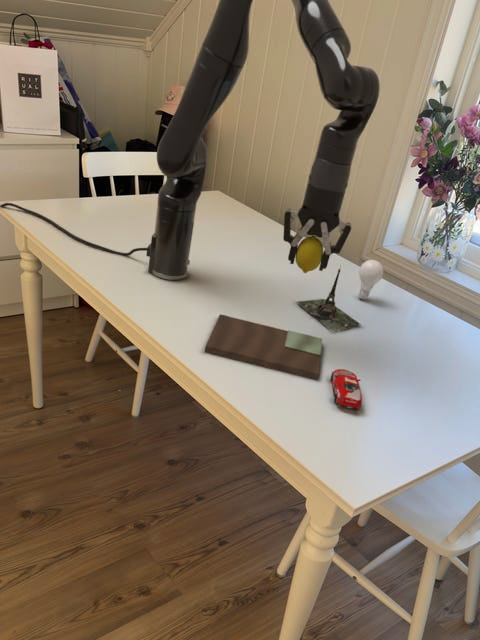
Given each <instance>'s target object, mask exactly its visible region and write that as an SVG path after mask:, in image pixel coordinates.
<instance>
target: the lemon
mask: <svg viewBox="0 0 480 640" xmlns="http://www.w3.org/2000/svg"><path fill="white" fill-rule="evenodd" d="M323 252H324V245H323V242H322V241H321V240H320V239H319V238H318V237H317V236H315V235H310V236H307V237H305V238H302V239H301V240H300V242H299V243H298V247H297V251H296V256H295V263H296V265H297V267H298V268H299V269H300V270H301V271H302V273H304V274H307V273H309V272H312V271H315V270H316V269H317V268H318V267H320V263H321V260H322V257H323Z"/></svg>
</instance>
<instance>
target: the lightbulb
mask: <svg viewBox="0 0 480 640" xmlns="http://www.w3.org/2000/svg"><path fill="white" fill-rule="evenodd" d="M384 271H385V270H384V267H383V265H382V263H381V262H380V261H378V260H376V259H367V260H365V261H364V262H363V263H362V264H361V265H360V267H359V269H358V276H359V280H360V289H359V292H358V295H357V296H358V298H359V299H360V300H362V301H364V300H368V298H369V297H370V293H371V291H372V290H373V288H374V286H375V285H377V284H378V283H379V282H380V281H381V280H382V279H383V276H384Z"/></svg>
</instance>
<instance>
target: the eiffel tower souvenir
mask: <svg viewBox="0 0 480 640" xmlns="http://www.w3.org/2000/svg"><path fill="white" fill-rule="evenodd" d="M341 266H342V265H340V267H339V268H338V270H337V274H336V277H335V279H334V282H333V284H332V287H331V289H330V292H329V293H328V296H327V297H326V299H325V298H320V299H319V298H318V299H310V300H298V301H296V303H297V304H298V305H299V306H300V307H301V308H302V309H303V310H304V311H306V312H307V313H309V314H310V315H311V316H312V317H314V318H316V319H317V320H318V321H319V322H320V323H321V324H322V325H324V327H325V328H326V329H328V330H329V331H330V332H331V333H336V332H339V331H345V330H348V329H350V328H354V327H357V326H362V324H361V323H360V322H358V321H357V320H356V319H354V318H353V317H351V316H350V315H348V314H347V313H346V312H345V311H343V310H342V309H340V308H339V307H337V306H336V301H335V298H336V289H337V284H338V281H339V278H340V277H339V276H340V273H341V268H342V267H341ZM330 299H331V300H330Z"/></svg>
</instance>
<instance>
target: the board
mask: <svg viewBox="0 0 480 640" xmlns="http://www.w3.org/2000/svg"><path fill="white" fill-rule="evenodd" d="M322 346H323V338H322V337H317V336H314V335H309V334H305V333H301V332H297V331H293V330H290V329H288V330H286V329H282V328H277V327H273V326H270V325H265V324H261V323H257V322H253V321H250V320H246V319H241V318H238V317H233V316H229V315H225V314H219V315H218V318H217V320H216V322H215V324H214V327H213V329H212V331H211V333H210V336H209V337H208V340H207V342H206V344H205V347H204V353H207V354H211V355H215V356H219V357H222V358H227V359H231V360H235V361H239V362H242V363H248V364H250V365H255V366H260V367H264V368H267V369H271V370H275V371H279V372H283V373H287V374H291V375H295V376H298V377H299V376H300V377H303V378H308V379H311V380H316V381H317V380H318V377H319V371H320V363H321V355H322V348H323V347H322Z"/></svg>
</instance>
